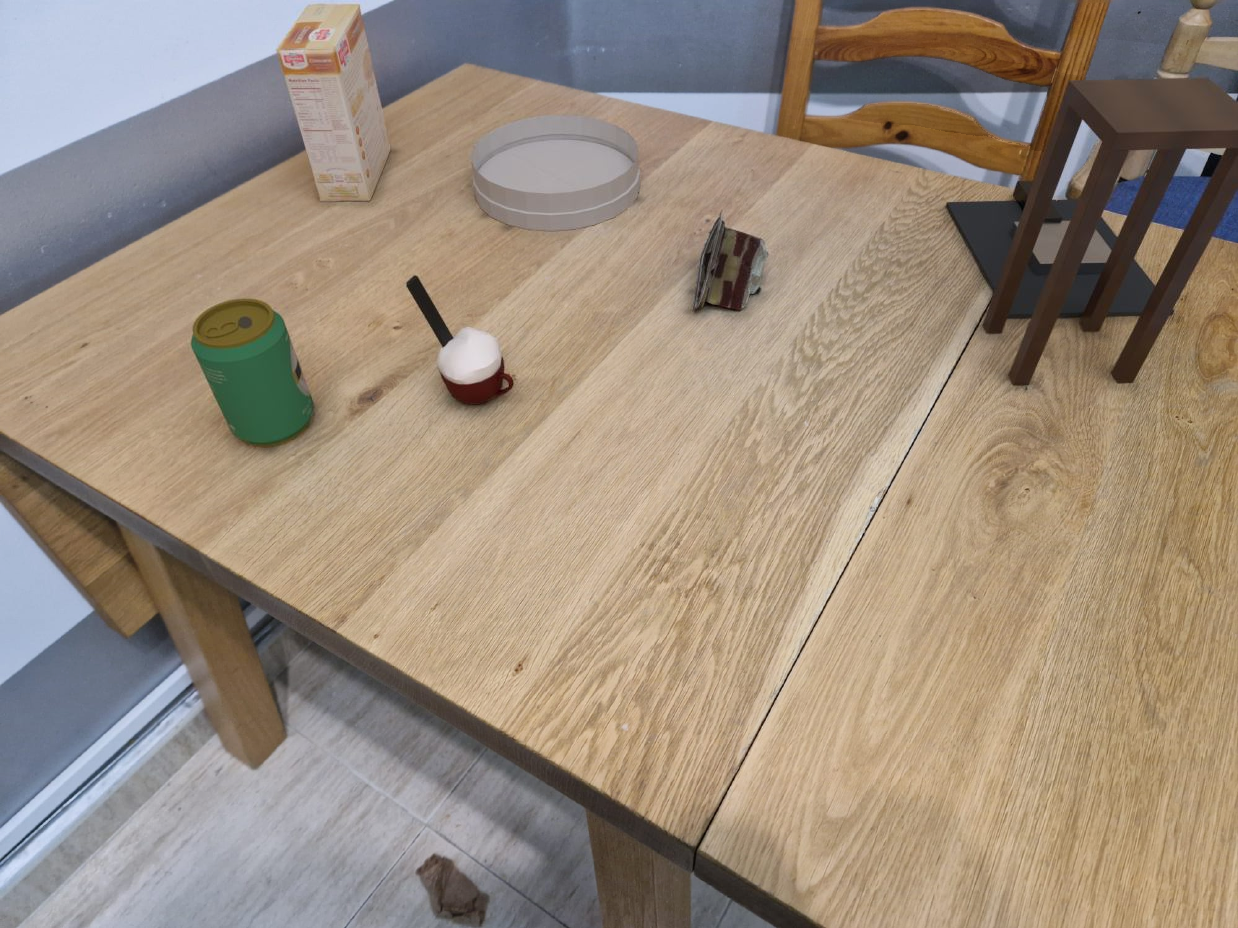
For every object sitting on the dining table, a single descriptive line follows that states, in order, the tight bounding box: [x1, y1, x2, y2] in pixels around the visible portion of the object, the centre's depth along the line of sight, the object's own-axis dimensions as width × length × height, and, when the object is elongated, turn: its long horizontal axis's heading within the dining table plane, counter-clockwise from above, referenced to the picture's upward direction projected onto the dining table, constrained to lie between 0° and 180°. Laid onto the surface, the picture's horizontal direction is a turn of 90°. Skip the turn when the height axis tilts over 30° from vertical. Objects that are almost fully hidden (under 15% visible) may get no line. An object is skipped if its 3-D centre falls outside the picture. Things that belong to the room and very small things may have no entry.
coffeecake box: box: [275, 3, 392, 202], centre depth 112 cm, size 15×7×20 cm, turn 0°
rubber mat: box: [945, 198, 1175, 319], centre depth 102 cm, size 18×24×1 cm
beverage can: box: [190, 298, 315, 448], centre depth 80 cm, size 8×8×12 cm
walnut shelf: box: [982, 77, 1238, 386], centre depth 80 cm, size 12×10×26 cm
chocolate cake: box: [692, 208, 770, 311], centre depth 98 cm, size 10×7×12 cm
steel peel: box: [1010, 180, 1111, 275], centre depth 104 cm, size 9×18×2 cm, turn 1°
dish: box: [470, 114, 641, 232], centre depth 113 cm, size 22×22×5 cm
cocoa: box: [405, 274, 515, 405], centre depth 82 cm, size 10×6×12 cm, turn 40°
